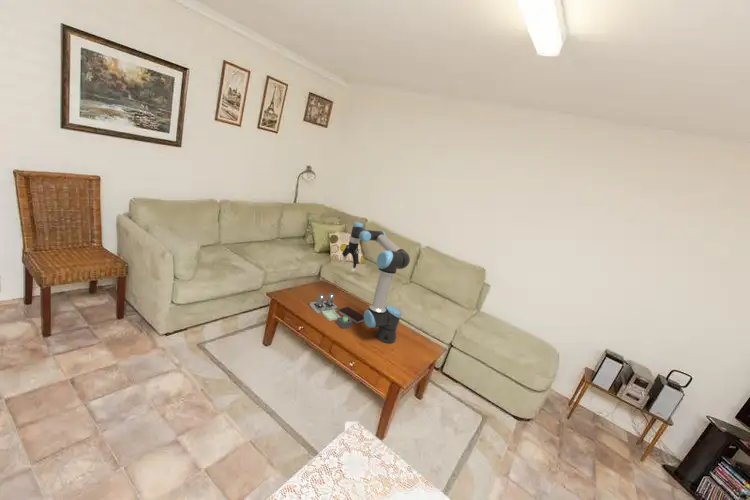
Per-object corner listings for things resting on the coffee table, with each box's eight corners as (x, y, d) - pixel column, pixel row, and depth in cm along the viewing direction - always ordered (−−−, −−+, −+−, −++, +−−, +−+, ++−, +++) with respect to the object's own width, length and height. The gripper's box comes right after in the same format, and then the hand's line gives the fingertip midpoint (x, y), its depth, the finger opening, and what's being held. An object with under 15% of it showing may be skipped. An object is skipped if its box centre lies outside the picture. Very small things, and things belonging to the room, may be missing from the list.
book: (347, 309, 277) (348, 305, 276) (366, 320, 268) (367, 316, 267) (337, 313, 267) (338, 309, 266) (356, 325, 257) (357, 321, 256)
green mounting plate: (340, 319, 257) (340, 317, 257) (328, 321, 251) (329, 318, 250) (332, 312, 265) (333, 309, 265) (321, 313, 259) (321, 311, 258)
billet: (316, 310, 261) (320, 296, 258) (313, 307, 265) (317, 293, 262) (322, 310, 264) (326, 296, 261) (319, 307, 268) (323, 293, 265)
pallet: (337, 311, 269) (337, 307, 268) (316, 313, 257) (317, 309, 257) (329, 303, 277) (330, 300, 277) (309, 305, 266) (310, 302, 265)
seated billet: (332, 309, 270) (336, 295, 267) (327, 309, 267) (330, 295, 264) (329, 306, 274) (332, 292, 270) (323, 306, 270) (327, 292, 267)
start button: (347, 324, 250) (349, 318, 248) (343, 325, 247) (344, 319, 246) (344, 322, 252) (346, 316, 251) (340, 322, 250) (341, 316, 249)
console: (351, 328, 250) (352, 322, 248) (341, 329, 245) (343, 323, 243) (345, 322, 256) (346, 316, 254) (336, 323, 251) (337, 317, 249)
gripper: (367, 248, 261) (360, 274, 267) (349, 236, 279) (343, 261, 285) (359, 248, 256) (352, 274, 262) (341, 236, 274) (335, 261, 280)
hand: (347, 267), depth 273 cm, fingers open, 13 cm apart
